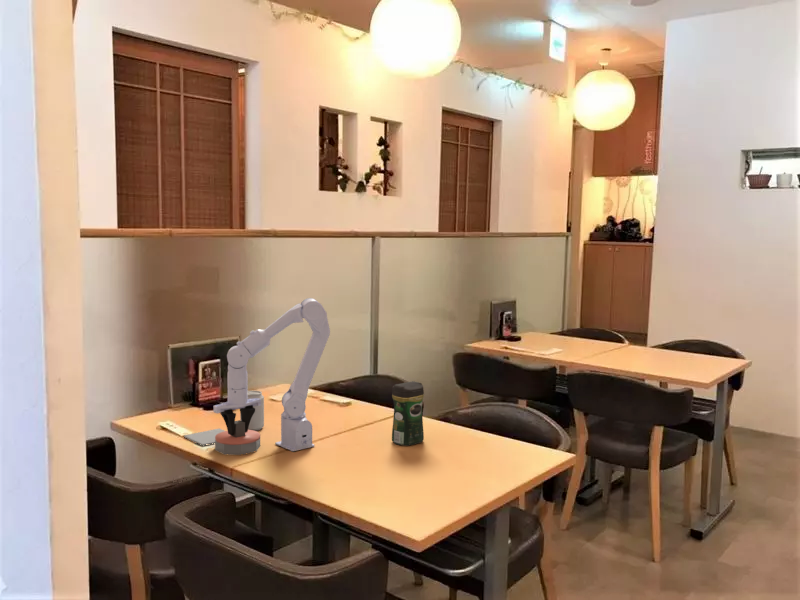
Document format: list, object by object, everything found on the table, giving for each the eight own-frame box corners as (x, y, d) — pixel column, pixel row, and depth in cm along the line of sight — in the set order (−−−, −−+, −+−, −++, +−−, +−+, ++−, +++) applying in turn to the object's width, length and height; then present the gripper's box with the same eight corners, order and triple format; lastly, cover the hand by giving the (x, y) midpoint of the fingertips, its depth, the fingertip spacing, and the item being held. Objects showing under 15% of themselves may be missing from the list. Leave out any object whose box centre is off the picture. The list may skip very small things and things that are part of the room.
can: (251, 433, 219) (250, 395, 218) (235, 428, 224) (235, 392, 222) (268, 428, 225) (268, 391, 224) (253, 424, 229) (253, 388, 228)
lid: (268, 438, 203) (268, 422, 203) (229, 447, 195) (229, 430, 194) (245, 429, 213) (245, 414, 212) (207, 437, 204) (207, 421, 203)
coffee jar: (410, 436, 219) (411, 378, 217) (427, 442, 213) (428, 382, 211) (386, 442, 212) (387, 382, 210) (404, 448, 206) (405, 386, 205)
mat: (238, 438, 213) (238, 436, 213) (202, 446, 205) (202, 444, 205) (219, 430, 222) (219, 428, 222) (183, 437, 213) (183, 435, 213)
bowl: (266, 448, 204) (266, 438, 203) (230, 457, 195) (230, 447, 195) (245, 439, 212) (245, 429, 212) (209, 447, 204) (209, 437, 204)
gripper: (252, 381, 210) (252, 425, 211) (208, 388, 200) (208, 434, 201) (264, 385, 205) (264, 430, 206) (220, 393, 195) (220, 440, 196)
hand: (237, 433), depth 203 cm, fingers open, 4 cm apart
